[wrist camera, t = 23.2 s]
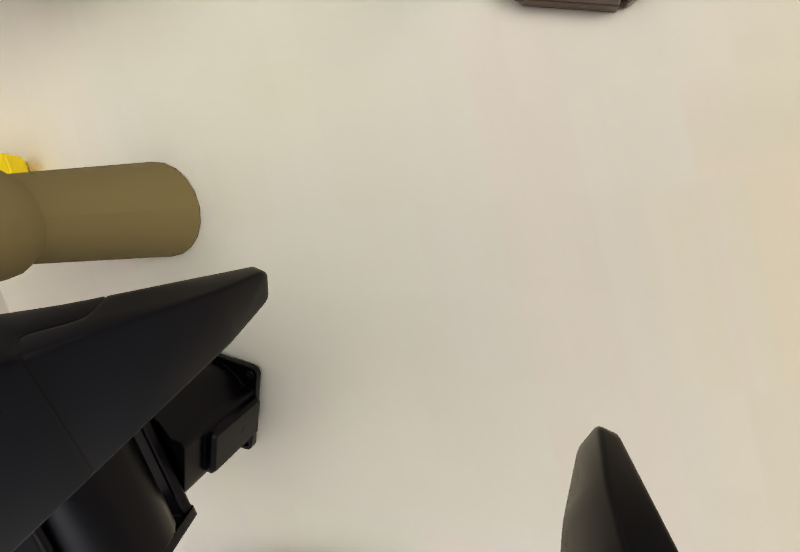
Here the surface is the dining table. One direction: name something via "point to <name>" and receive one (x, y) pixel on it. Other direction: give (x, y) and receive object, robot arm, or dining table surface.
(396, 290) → the dining table surface
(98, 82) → the dining table surface
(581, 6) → the spot ring
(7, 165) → the watch
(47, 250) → the cork
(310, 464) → the dining table surface
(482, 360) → the dining table surface
